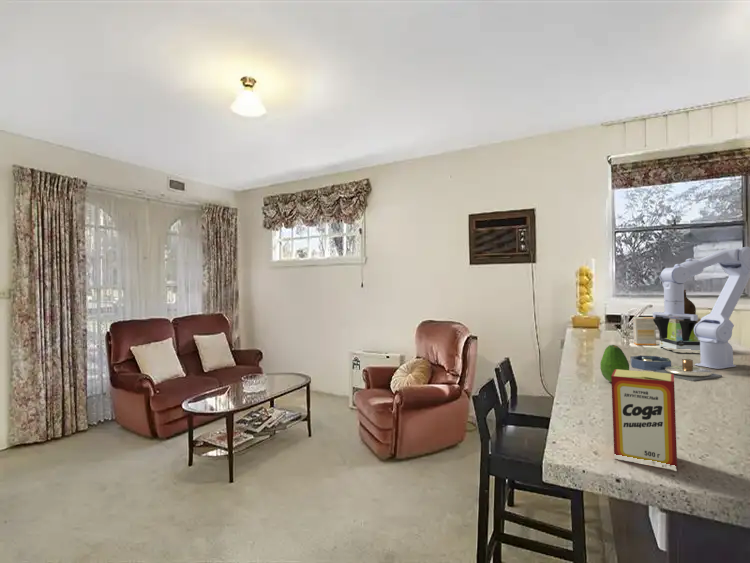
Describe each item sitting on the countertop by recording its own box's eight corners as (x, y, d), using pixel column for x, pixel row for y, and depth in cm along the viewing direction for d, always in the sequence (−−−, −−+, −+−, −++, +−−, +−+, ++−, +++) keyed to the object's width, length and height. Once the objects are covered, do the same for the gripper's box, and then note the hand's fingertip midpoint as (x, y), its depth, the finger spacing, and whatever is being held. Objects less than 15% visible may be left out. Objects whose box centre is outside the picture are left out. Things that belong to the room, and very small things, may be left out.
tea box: (703, 354, 169) (702, 318, 169) (676, 354, 171) (674, 318, 171) (683, 347, 183) (682, 315, 183) (658, 347, 185) (657, 315, 185)
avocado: (601, 384, 128) (600, 346, 128) (600, 378, 135) (598, 342, 135) (631, 386, 124) (630, 347, 124) (628, 380, 131) (626, 343, 131)
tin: (647, 362, 156) (646, 354, 156) (678, 368, 145) (678, 359, 145) (623, 365, 153) (623, 357, 153) (653, 371, 141) (653, 363, 141)
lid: (681, 367, 143) (681, 355, 143) (721, 375, 131) (721, 361, 131) (656, 371, 139) (655, 358, 139) (694, 379, 127) (694, 365, 127)
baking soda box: (614, 459, 76) (611, 374, 76) (617, 447, 81) (614, 367, 81) (677, 471, 71) (674, 379, 71) (676, 457, 76) (673, 372, 76)
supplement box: (653, 344, 196) (652, 316, 196) (656, 345, 191) (655, 317, 191) (633, 343, 198) (632, 316, 198) (636, 345, 194) (635, 317, 194)
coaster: (680, 369, 144) (680, 367, 144) (721, 376, 132) (721, 375, 132) (653, 372, 140) (653, 371, 140) (693, 381, 128) (693, 379, 128)
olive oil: (699, 338, 206) (698, 289, 206) (693, 341, 199) (691, 290, 199) (674, 336, 214) (673, 289, 214) (667, 339, 208) (665, 290, 208)
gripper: (646, 300, 150) (646, 337, 150) (687, 302, 137) (687, 342, 137) (660, 300, 153) (661, 336, 152) (701, 301, 139) (702, 341, 139)
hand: (674, 339), depth 145 cm, fingers open, 7 cm apart
